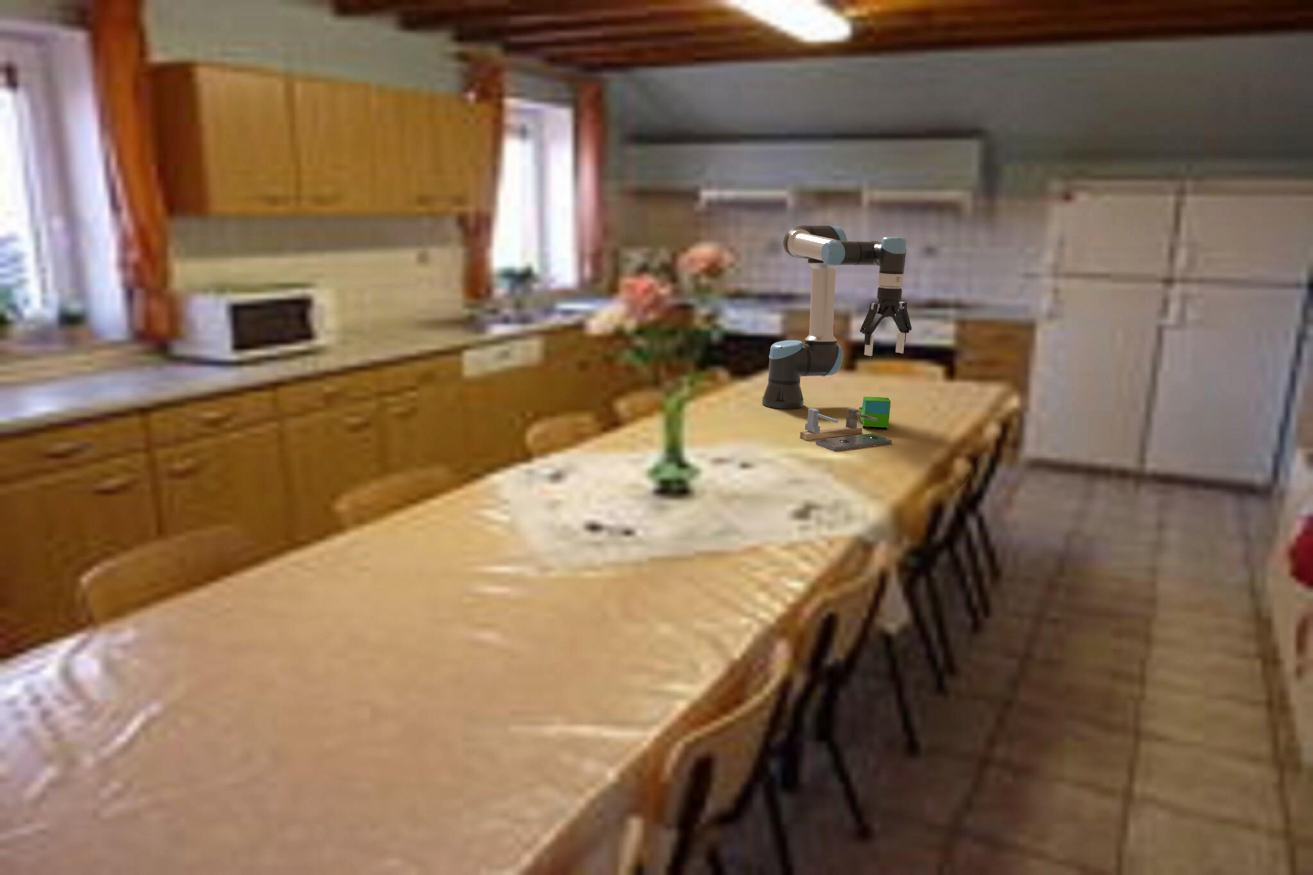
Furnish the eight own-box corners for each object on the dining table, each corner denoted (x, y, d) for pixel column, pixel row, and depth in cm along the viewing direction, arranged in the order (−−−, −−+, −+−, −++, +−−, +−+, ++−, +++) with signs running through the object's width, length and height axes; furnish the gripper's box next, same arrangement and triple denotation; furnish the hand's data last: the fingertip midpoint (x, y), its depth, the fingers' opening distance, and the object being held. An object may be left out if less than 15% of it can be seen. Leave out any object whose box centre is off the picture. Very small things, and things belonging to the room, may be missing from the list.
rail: (799, 438, 300) (801, 413, 298) (855, 431, 311) (857, 407, 309) (825, 447, 289) (827, 422, 287) (882, 440, 300) (885, 416, 298)
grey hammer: (804, 429, 302) (806, 408, 300) (809, 429, 303) (811, 407, 301) (832, 439, 290) (834, 417, 288) (838, 439, 291) (839, 417, 289)
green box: (885, 421, 326) (888, 393, 324) (891, 431, 313) (894, 401, 311) (856, 420, 327) (858, 392, 325) (860, 429, 314) (862, 400, 312)
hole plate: (815, 443, 293) (815, 440, 293) (872, 436, 304) (872, 433, 304) (834, 451, 286) (834, 447, 285) (891, 443, 297) (892, 439, 296)
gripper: (869, 289, 287) (863, 358, 293) (927, 287, 300) (920, 353, 305) (852, 286, 293) (846, 354, 299) (909, 285, 306) (903, 349, 311)
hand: (883, 354), depth 302 cm, fingers open, 13 cm apart
